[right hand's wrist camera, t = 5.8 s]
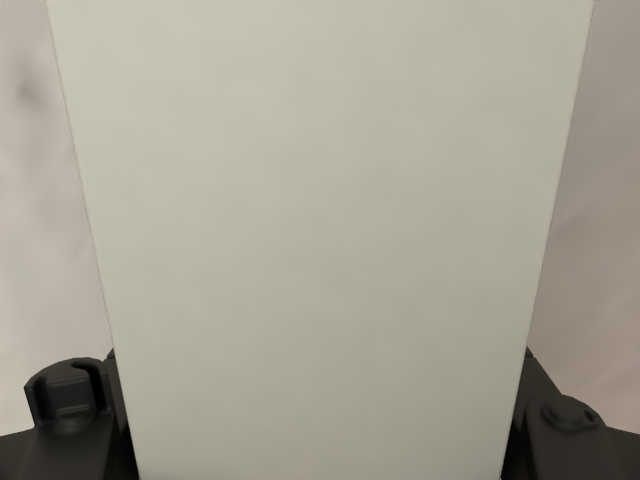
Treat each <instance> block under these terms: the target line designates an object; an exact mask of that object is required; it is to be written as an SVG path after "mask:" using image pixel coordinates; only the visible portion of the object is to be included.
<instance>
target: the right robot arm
mask: <svg viewBox="0 0 640 480" xmlns="http://www.w3.org/2000/svg"><path fill="white" fill-rule="evenodd" d="M24 391H25V394H26V398H27V401H28V404H29V408H30V411H31V414H32V418H33V421H34V424H35V426H34V428H32V429H29V430H25V431H22V432H17V433H13V434H9V435H4V436H0V480H139V479H140V478H139V473H138V468H137V463H136V458H135V453H134V448H133V443H132V438H131V433H130V428H129V423H128V418H127V413H126V408H125V403H124V398H123V393H122V388H121V382H120V377H119V372H118V367H117V362H116V357H115V352H114V348H112V350H111V351H110V353H109V354H108V355H107V359H105V360H104V361H103V362H102V361H100V360H98V359H94V358H89V357H85V358H72V359H68V360H64V361H60V362H57V363H55V364H53V365H51V366H48V367H46V368H44V369H42V370H41V371H40V372H38V373H37V374H35V375H34V376H33V377H31V378H30V380H29V381H28V382H27V383H26V385H25V386H24ZM500 477H501V480H640V434H635V433H631V432H627V431H622V430H618V429H614V428H611V427H607V426H606V425H605V423H604V422H603V420H602V419H601V417H600V416H599V414H598V413H596V412H595V411H594V410H593V409H592V408H590V407H589V406H588V405H587V404H585V403H583V402H581V401H579V400H577V399H575V398H573V397H570V396H566V395H562V394H561V393H560V391H559V390H558V389H557V387H556V386H555V384H554V383H553V382H552V380H551V379H550V377H549V376H548V375H547V373H546V372H545V371H544V369H543V368H542V366H541V365H540V364H539V362H538V361H537V359H536V358H533V354H532V353H531V351H530V350H529V348H528V347H527V346H526V351H525V356H524V361H523V366H522V371H521V376H520V381H519V386H518V391H517V396H516V401H515V406H514V411H513V416H512V421H511V426H510V431H509V436H508V441H507V446H506V451H505V456H504V461H503V466H502V471H501V476H500Z"/></svg>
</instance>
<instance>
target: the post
mask: <svg viewBox="0 0 640 480" xmlns="http://www.w3.org/2000/svg"><path fill="white" fill-rule="evenodd" d="M44 2H45V7H46V12H47V17H48V22H49V27H50V32H51V37H52V42H53V47H54V52H55V57H56V62H57V67H58V72H59V77H60V82H61V87H62V92H63V97H64V102H65V107H66V112H67V117H68V122H69V127H70V132H71V137H72V142H73V147H74V152H75V157H76V162H77V167H78V172H79V177H80V182H81V187H82V192H83V197H84V202H85V207H86V212H87V217H88V222H89V227H90V232H91V237H92V242H93V247H94V252H95V257H96V262H97V267H98V272H99V277H100V282H101V287H102V292H103V297H104V302H105V307H106V312H107V317H108V322H109V327H110V332H111V337H112V342H113V347H114V352H115V357H116V362H117V367H118V372H119V377H120V382H121V388H122V393H123V398H124V403H125V408H126V413H127V418H128V423H129V428H130V433H131V438H132V443H133V448H134V453H135V458H136V463H137V468H138V473H139V478H140V480H500V476H501V471H502V466H503V461H504V456H505V451H506V446H507V441H508V436H509V431H510V426H511V421H512V416H513V411H514V406H515V401H516V396H517V391H518V386H519V381H520V376H521V371H522V366H523V361H524V356H525V351H526V346H527V341H528V336H529V331H530V326H531V321H532V316H533V311H534V306H535V301H536V296H537V291H538V286H539V281H540V276H541V271H542V266H543V261H544V256H545V251H546V246H547V240H548V235H549V230H550V225H551V220H552V215H553V210H554V205H555V200H556V195H557V190H558V185H559V180H560V175H561V170H562V165H563V160H564V155H565V150H566V145H567V140H568V135H569V130H570V125H571V120H572V115H573V110H574V105H575V100H576V95H577V90H578V85H579V80H580V75H581V70H582V65H583V60H584V55H585V50H586V45H587V40H588V35H589V30H590V25H591V20H592V15H593V10H594V5H595V0H44Z"/></svg>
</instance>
